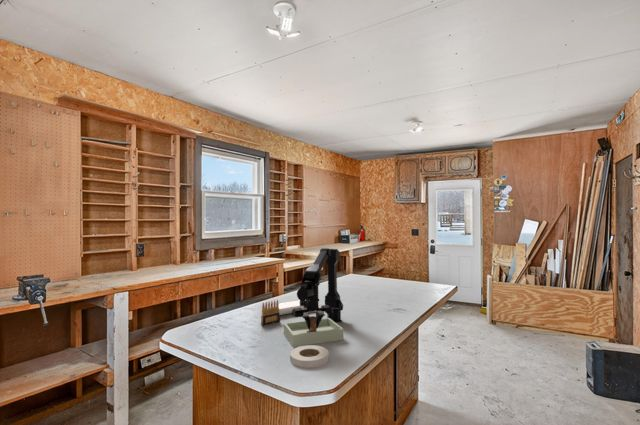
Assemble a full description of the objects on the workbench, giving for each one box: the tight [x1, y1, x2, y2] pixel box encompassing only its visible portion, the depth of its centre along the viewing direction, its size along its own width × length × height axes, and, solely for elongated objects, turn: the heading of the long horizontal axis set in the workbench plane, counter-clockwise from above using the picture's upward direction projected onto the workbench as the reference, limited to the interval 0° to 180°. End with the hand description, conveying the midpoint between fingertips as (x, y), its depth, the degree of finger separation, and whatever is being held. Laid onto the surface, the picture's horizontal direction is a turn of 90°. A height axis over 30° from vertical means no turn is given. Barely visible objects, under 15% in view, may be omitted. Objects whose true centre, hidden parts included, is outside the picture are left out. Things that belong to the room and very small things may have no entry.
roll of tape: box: [289, 344, 330, 369], centre depth 127 cm, size 16×15×3 cm
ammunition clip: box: [260, 299, 281, 327], centre depth 172 cm, size 11×2×12 cm, turn 131°
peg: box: [309, 315, 316, 332], centre depth 152 cm, size 4×4×8 cm
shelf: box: [267, 299, 307, 316], centre depth 192 cm, size 12×30×5 cm, turn 123°
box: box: [283, 318, 344, 348], centre depth 152 cm, size 24×18×5 cm
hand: (312, 329), depth 152 cm, fingers closed on peg, 3 cm apart
